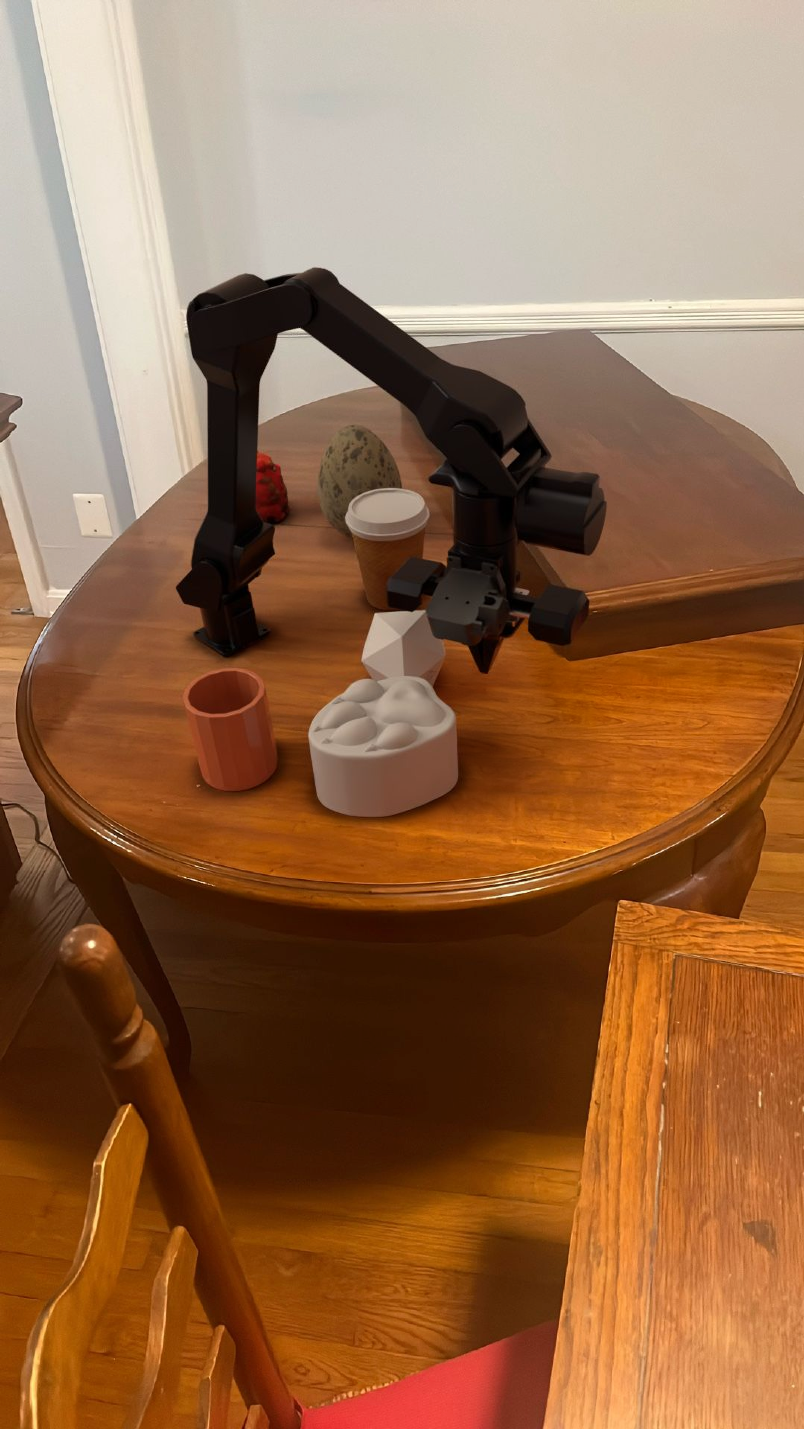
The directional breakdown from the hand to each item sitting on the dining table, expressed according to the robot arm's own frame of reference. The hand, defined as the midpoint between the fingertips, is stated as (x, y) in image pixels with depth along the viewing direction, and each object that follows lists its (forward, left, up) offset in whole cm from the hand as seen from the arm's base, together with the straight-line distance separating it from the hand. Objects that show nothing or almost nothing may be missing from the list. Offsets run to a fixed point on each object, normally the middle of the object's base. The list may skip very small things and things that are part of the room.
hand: (485, 671), depth 99 cm
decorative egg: (-36, +16, -4) cm, 40 cm away
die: (-9, -3, -4) cm, 10 cm away
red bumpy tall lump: (-51, +11, -4) cm, 53 cm away
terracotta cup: (-11, -23, -4) cm, 26 cm away
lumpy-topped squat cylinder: (0, -15, -4) cm, 15 cm away
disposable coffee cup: (-22, +8, -4) cm, 24 cm away
